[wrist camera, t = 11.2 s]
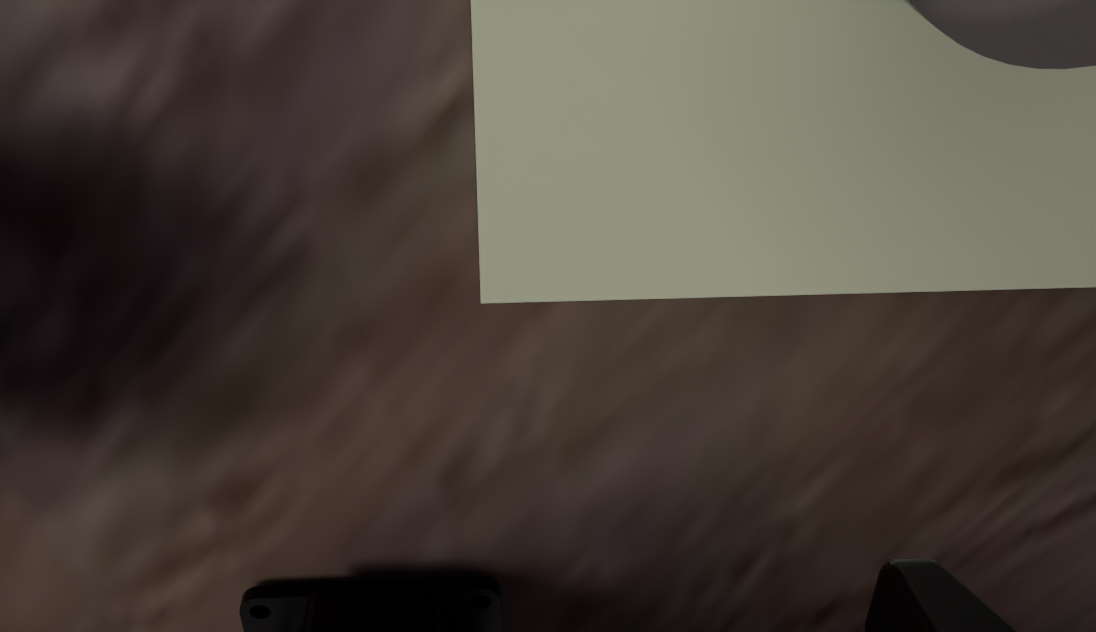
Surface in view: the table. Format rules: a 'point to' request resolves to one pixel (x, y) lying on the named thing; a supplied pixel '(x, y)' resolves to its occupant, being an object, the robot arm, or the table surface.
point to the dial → (1019, 29)
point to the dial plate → (769, 154)
